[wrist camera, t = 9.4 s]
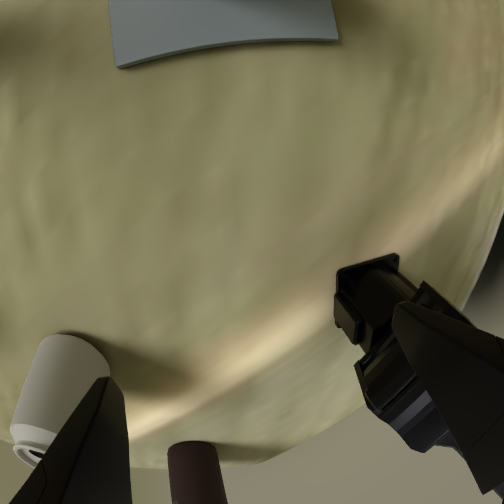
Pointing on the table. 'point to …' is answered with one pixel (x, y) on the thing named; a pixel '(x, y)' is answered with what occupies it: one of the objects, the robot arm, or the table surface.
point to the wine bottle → (195, 474)
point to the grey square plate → (212, 25)
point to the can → (53, 392)
